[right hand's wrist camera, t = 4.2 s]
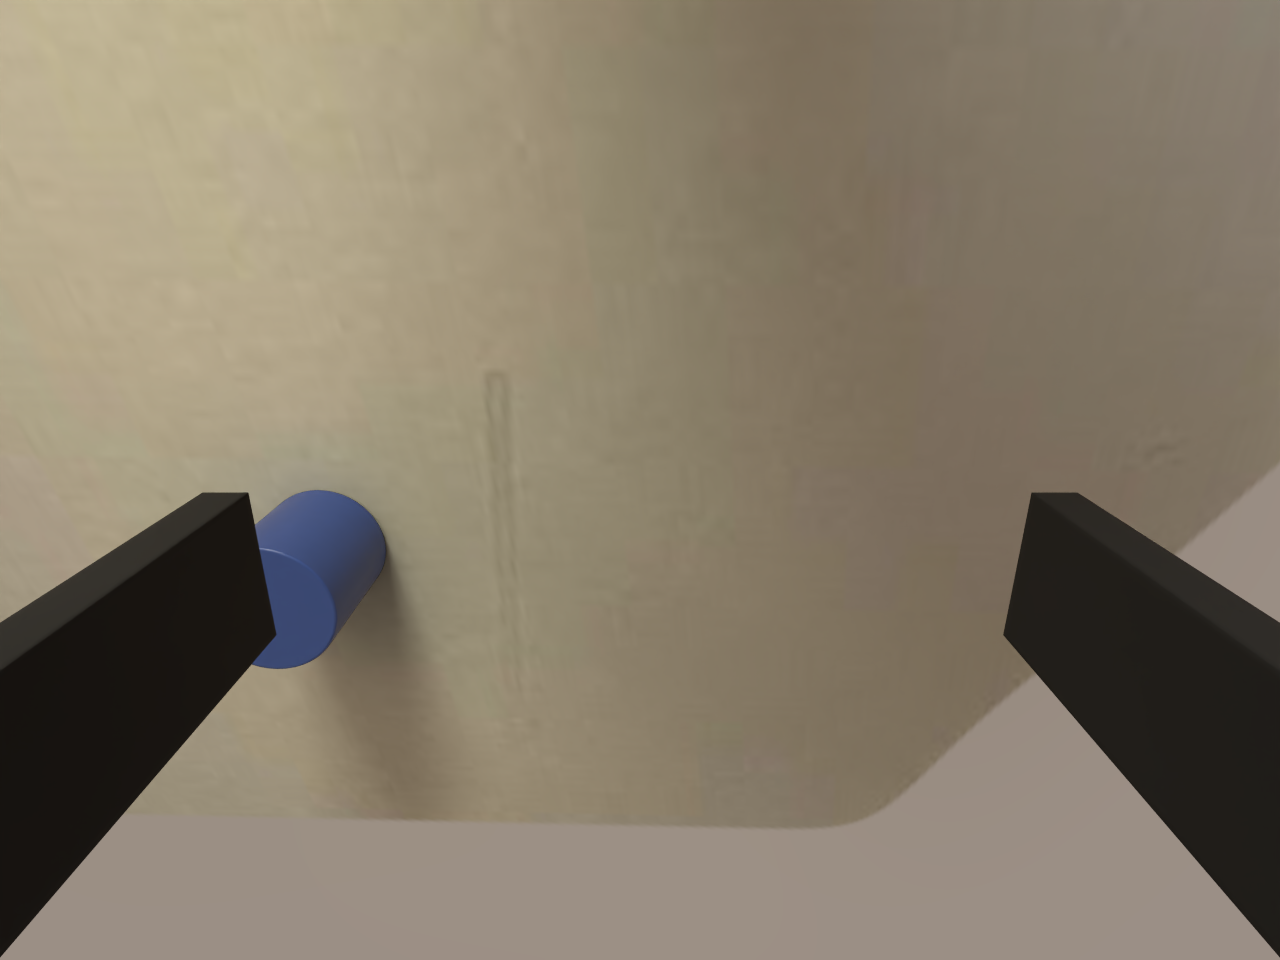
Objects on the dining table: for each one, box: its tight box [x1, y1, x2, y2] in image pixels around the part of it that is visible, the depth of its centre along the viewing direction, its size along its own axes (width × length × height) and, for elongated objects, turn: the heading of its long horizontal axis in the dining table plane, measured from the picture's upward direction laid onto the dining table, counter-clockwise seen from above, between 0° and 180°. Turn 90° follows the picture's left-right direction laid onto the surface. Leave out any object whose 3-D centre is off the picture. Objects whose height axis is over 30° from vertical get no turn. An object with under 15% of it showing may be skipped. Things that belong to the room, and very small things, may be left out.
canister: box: [252, 490, 386, 669], centre depth 23 cm, size 4×4×4 cm
